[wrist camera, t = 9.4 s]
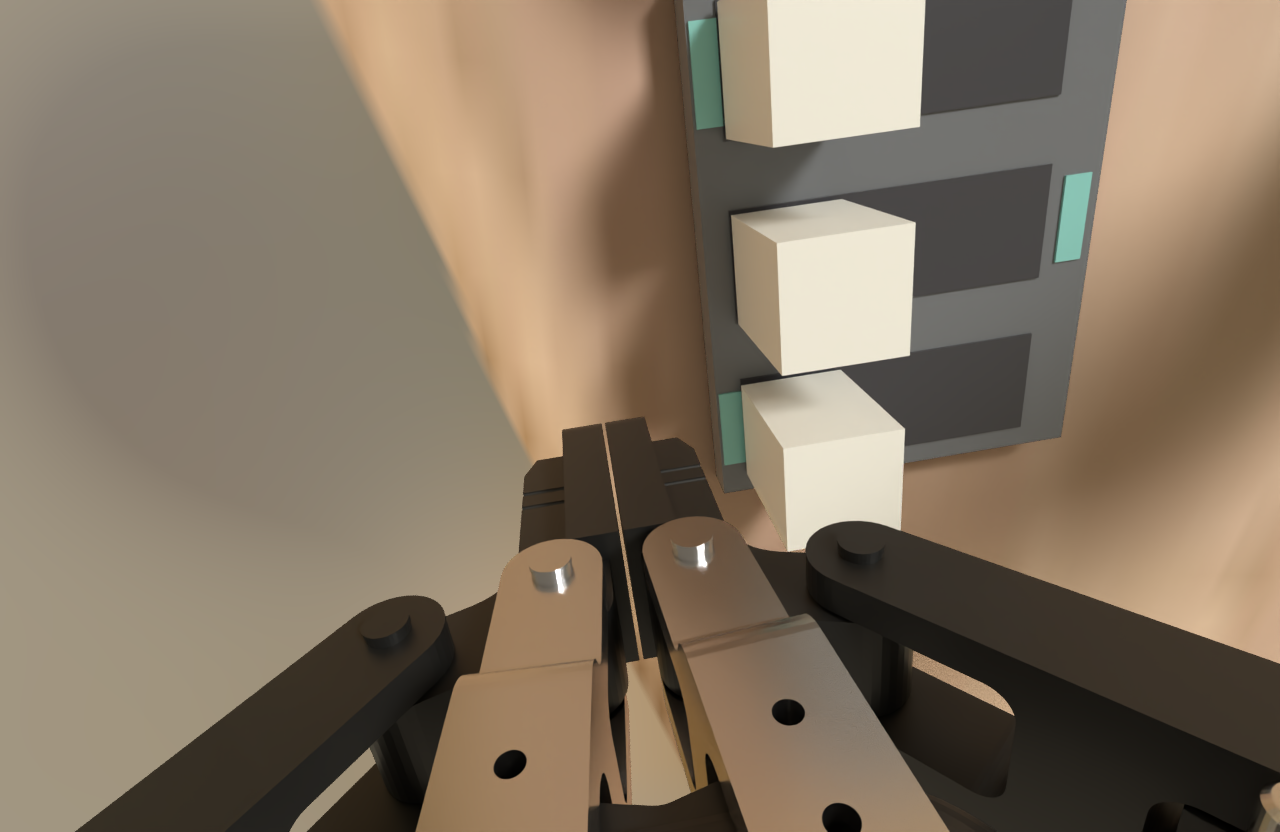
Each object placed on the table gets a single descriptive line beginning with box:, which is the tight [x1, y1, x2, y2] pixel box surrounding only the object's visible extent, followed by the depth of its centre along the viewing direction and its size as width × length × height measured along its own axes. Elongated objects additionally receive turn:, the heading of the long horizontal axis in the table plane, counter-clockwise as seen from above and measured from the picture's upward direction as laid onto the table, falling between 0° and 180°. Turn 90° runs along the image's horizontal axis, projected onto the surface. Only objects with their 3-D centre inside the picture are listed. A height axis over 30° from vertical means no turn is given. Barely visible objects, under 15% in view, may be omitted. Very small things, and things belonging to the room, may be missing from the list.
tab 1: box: [717, 0, 925, 148], centre depth 20 cm, size 4×4×6 cm
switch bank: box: [674, 0, 1127, 493], centre depth 26 cm, size 15×19×2 cm
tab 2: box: [741, 370, 905, 551], centre depth 25 cm, size 4×4×6 cm
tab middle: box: [731, 199, 916, 376], centre depth 23 cm, size 4×4×6 cm
